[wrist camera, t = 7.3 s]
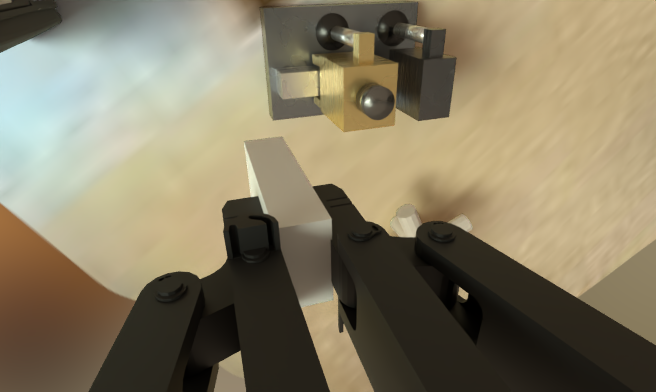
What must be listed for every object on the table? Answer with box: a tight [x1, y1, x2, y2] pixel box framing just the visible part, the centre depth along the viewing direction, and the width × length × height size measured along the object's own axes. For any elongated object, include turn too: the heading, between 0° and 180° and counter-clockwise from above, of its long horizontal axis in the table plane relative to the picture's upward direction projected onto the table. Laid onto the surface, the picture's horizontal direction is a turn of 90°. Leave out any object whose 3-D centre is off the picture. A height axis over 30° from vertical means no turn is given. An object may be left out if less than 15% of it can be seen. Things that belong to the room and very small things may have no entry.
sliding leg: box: [312, 26, 398, 132], centre depth 27 cm, size 4×6×8 cm, turn 1°
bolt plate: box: [260, 1, 456, 121], centre depth 29 cm, size 12×8×8 cm, turn 92°
